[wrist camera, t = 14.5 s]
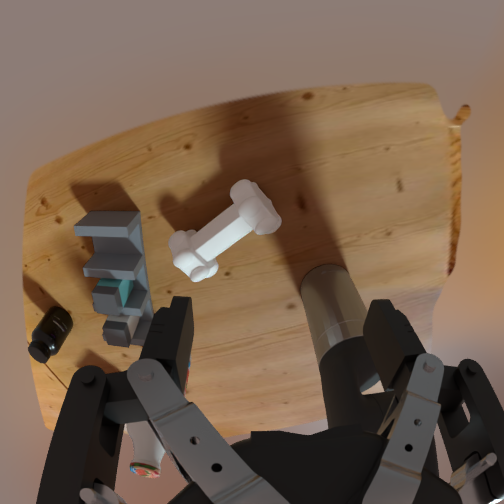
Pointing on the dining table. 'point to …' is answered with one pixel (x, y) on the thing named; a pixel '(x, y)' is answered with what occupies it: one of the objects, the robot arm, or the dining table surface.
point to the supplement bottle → (50, 334)
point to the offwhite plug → (120, 329)
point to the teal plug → (111, 295)
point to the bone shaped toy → (224, 231)
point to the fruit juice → (147, 447)
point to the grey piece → (120, 260)
